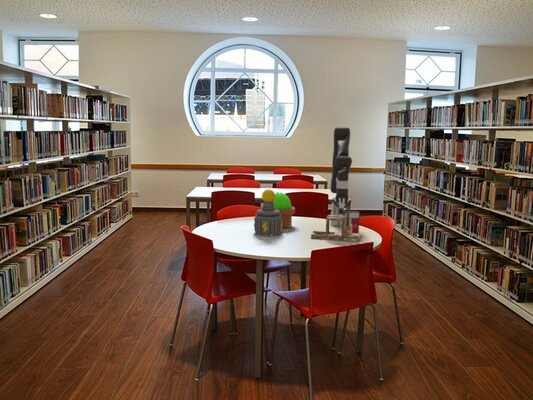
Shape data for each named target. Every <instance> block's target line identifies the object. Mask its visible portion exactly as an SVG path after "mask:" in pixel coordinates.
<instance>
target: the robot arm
mask: <svg viewBox="0 0 533 400" xmlns="http://www.w3.org/2000/svg"><path fill="white" fill-rule="evenodd" d="M350 140H351V129H350V128H349V127H346V126H337V127H334V130H333V151H332V152H333V153H332V161H331V162H332V168H331V169H332V171H331V172H332V173H331V180H330V192H331V193H332V194H336V195H335V197H333V198H331V199H332V200H331V211H330V215H342V216H343V213H344V211H345V209H347V207H349V205H351V203H352V199H350V198H349V174H350V173H349V172H350V169H351V166H352V162H353V159H352V157H351V156H349V155H350V153H349V152H350V151H349V147H350ZM339 141H340V142H341V143H339ZM346 202H347V203H346ZM329 226H332V227H342V221H332V220H330V224H329Z"/></svg>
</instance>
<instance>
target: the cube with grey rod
mask: <svg viewBox="0 0 533 400" xmlns="http://www.w3.org/2000/svg"><path fill="white" fill-rule="evenodd" d="M350 208H351V207H350V206H347V207H346V211H347V217H346V224H344V232H343V236H348V237H358V239H360V235H361V234H360V233H352V225H349V213H350ZM334 232H335V234H334V236H341V233H342V232H341V231H340V232H341V233H340V232H337V231H334Z"/></svg>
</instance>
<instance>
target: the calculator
mask: <svg viewBox="0 0 533 400" xmlns="http://www.w3.org/2000/svg"><path fill="white" fill-rule="evenodd" d="M360 213H361V212H360V211H358V210H351V211H350V213H349V225H352V233H357V234H360V233H359V232H360V215H361V214H360ZM343 216H345V224H346V217H347V210H346V211H345V210H344V213H343Z"/></svg>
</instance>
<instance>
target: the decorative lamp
mask: <svg viewBox="0 0 533 400" xmlns="http://www.w3.org/2000/svg"><path fill="white" fill-rule="evenodd" d="M275 194H276V192H275V191H274V190H272V189H269V188H268V189H264V191H263V192H262V194H261V199H262V201H263V203H262V207H261V208H260V209H257V210H256V213H255V216H254V218H253V220H254V224H253V227H254V233H255V234H256V235H258V234H260V235H259V236H263V235H275V236H278V234H279V235H281V234H282V230H283V228H282V218H281V215H280V211H279V210H277V209H275V207H274V204H273V203H274V202H273V201H274V200H275Z"/></svg>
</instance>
